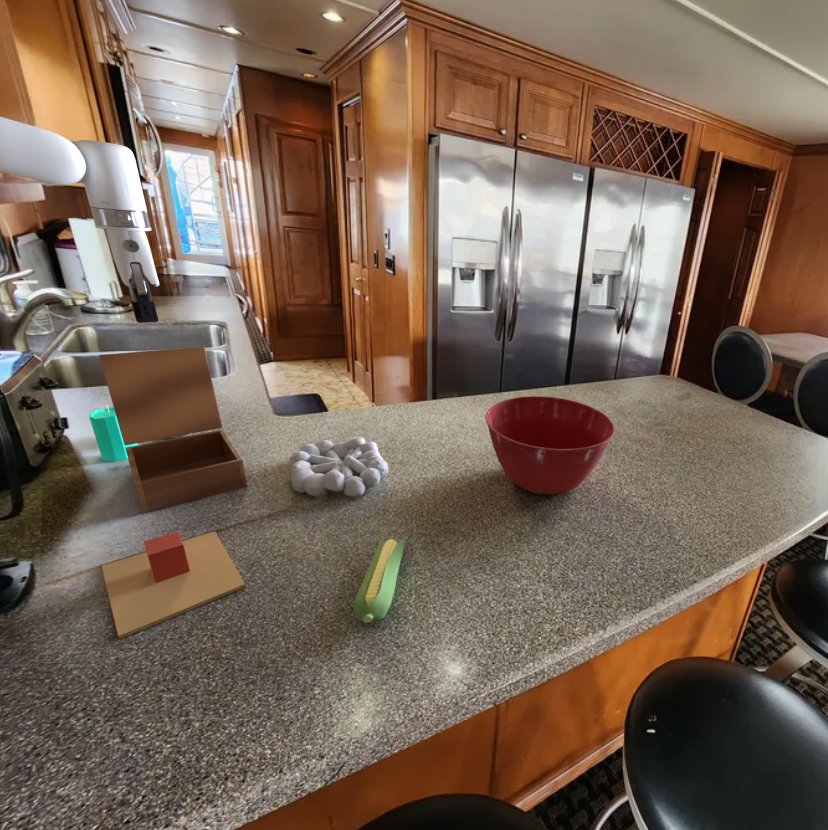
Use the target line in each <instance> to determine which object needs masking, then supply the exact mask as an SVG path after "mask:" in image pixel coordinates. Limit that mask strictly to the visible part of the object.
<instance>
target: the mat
mask: <svg viewBox="0 0 828 830" xmlns="http://www.w3.org/2000/svg"><path fill="white" fill-rule="evenodd" d="M181 540H182V542H183V545H184V549H185V553H186V557H187V561H188V565H189V569H190V571H189V572H186V573H184V574H181V575H178V576H175V577H172V578H169V579H166V580H163V581H160V582H157V583H156V582H155V579H154V576H153V572H152V569H151V565H150V562H149V559H148V555H147V551H146V550H145V551H142V552H141V551H140V552H138V553H134V554H132V555H129V556H126V557H122V558H119V559H115V560H112V561H109V562H105V563H102V564H100V568H101V571H102V575H103V580H104V583H105V587H106V592H107V597H108V600H109V605H110V609H111V613H112V617H113V622H114V626H115V628H116V629H115V631H116V633H117V637H118V640H121V639H123V638H126V637H128V636H131V635H133V634H135V633H138V632H140V631H142V630H146V629H148V628H151V627H153V626H155V625H157V624H160V623H162V622H165V621H167V620H169V619H171V618H175V617H177V616H179V615H181V614H185V613H187V612H189V611H191V610H193V609H196V608H198V607H201V606H203V605H206V604H209V603H211V602H214V601H215V600H218V599H220V598H223V597H225V596H228V595H230V594H232V593H235V592H237V591H240V590H243V589H244V588H246V586H247V585H246V583H245V581H244V580H243V578H242V576H241V575H240V572H239V571H238V569H237V567H236V566H235V564H234V562H233V560H232V559H231V557H230V555H229V554H228V552H227V550H226V548H225V546H224V544H223V543H222V541H221V539H220V538H219V536H218V534H217V533H216V530H211V531H210V530H209V531H207V532H204V533H202V534H198V535H193V536H191V537H188V538H184V539H181Z"/></svg>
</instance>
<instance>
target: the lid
mask: <svg viewBox="0 0 828 830" xmlns="http://www.w3.org/2000/svg"><path fill="white" fill-rule="evenodd" d="M98 357H99V360H100V364H101V367H102V371H103V374H104V378H105V381H106V385H107V389H108V393H109V396H110V399H111V402H112V403H111V404H112V407H114V410H115V413H116V417H117V420H118V424H119V427H120V431H121V434H122V438H123V441H124V445H131V444H136V443H138V444H143V443H148V442H154V441H159V440H164V439H168V438H169V437H175V436H180V435H186V434H191V433H192V434H198V433H203V432H209V431H214V430H218V429H219V430H220V429H223V424H222V420H221V415H220V411H219V410H220V409H219V406H218V402H217V397H216V393H215V392H216V391H215V387H214V384H213V379H212V374H211V371H210V366H209V361H208V357H207V351H206V347H205V346H194V347H181V348H180V347H179V348H171V349H170V348H169V349H167V348H166V349H157V350H144V351H143V350H142V351H131V352H130V351H129V352H119V353H118V352H117V353H106V354H99V355H98ZM192 434H191V435H192ZM169 439H170V438H169Z"/></svg>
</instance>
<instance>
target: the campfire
mask: <svg viewBox="0 0 828 830" xmlns="http://www.w3.org/2000/svg"><path fill="white" fill-rule="evenodd" d="M378 447H379V446H378V444H377V443H376V442H375V441H366V439H365V438H364V437H362V436H356V437H352V438H350V440H348V441H345V442H344V441H343V442H338V443H336V444H335V445H334V443H333V442H332V441H331V440H328V439H322V440H320V441H318V442H317V443H315V444H312V443H307V444H304V445H302V446H300V447H299V450H297V451H295V452H293V453H292V454H291V455H290V456H289V463H290V468H289V472H290V478H289V479H290V481H291V487H292V489H293V490H294V491H296V492H298V493H301V494H302V493H305V492H306V494H307V495H309V496H313V497H319V496H320V495H322V494H324V493H325V492H326V490H328V491H332V492H342V491H343V494H344V495H346V496H347V497H353V498H355V497H361V496H363V495H364V493H365V491H366V488H368V489H369V488H371V489H372V488H375V487H377V486H378V485H379V484H380V482H381V478H383V477H386V476H387V475H388V474H389V465H388V462H387V461H385V459H384V458H383V456H382V455H381V454H380V452H379V448H378ZM353 471H354V472H357V474H359V476H357V475H354V473H353Z"/></svg>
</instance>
